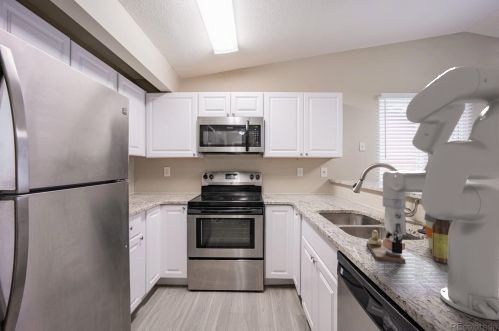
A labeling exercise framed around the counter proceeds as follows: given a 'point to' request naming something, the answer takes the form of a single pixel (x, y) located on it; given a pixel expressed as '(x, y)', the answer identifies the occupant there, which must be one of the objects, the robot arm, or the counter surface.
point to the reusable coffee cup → (430, 228)
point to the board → (384, 254)
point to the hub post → (375, 239)
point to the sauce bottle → (440, 240)
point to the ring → (388, 243)
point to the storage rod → (389, 251)
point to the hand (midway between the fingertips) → (393, 249)
